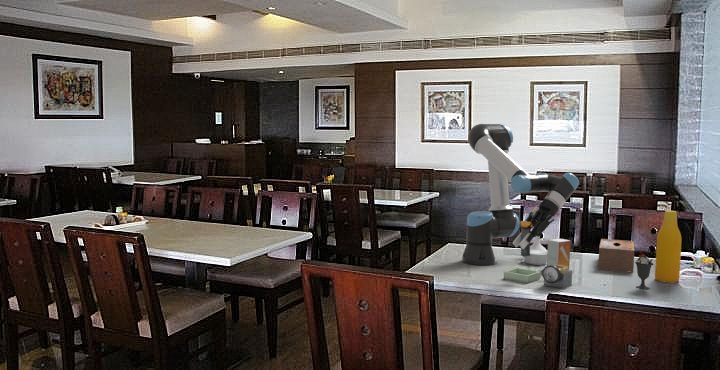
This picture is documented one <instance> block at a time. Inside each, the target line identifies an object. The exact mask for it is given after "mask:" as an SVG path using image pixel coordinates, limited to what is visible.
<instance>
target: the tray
mask: <svg viewBox="0 0 720 370" xmlns="http://www.w3.org/2000/svg"><path fill="white" fill-rule="evenodd" d="M541 278H542V271H539V270H532V269H526V268H521V267H514V268H512V269H507V270H505V271H503V279H504V280H507V279H508V281H514V282H519V283H524V284H530V283H533V282H535V281H539V280H541Z"/></svg>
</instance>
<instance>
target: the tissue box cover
mask: <svg viewBox="0 0 720 370" xmlns="http://www.w3.org/2000/svg"><path fill="white" fill-rule="evenodd" d="M597 264H598V266H597V269H598V270H602V271H603V270H604V271H613V270H614V271H615V272H623V271H631V272H630V273H634V264H635V241H634V240H625V239H624V240H622V239H621V240H620V239H609V238H608V239H607V238H601V239H600V243H599V248H598V263H597Z"/></svg>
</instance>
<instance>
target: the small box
mask: <svg viewBox="0 0 720 370" xmlns="http://www.w3.org/2000/svg"><path fill="white" fill-rule="evenodd" d="M571 243H572V242H571V240H569V239H566V238H565V239H564V238H552V239H548V240H547V263H546V266H549V265H561V266H567V267H569V268H570V260H571V259H570V258H571Z"/></svg>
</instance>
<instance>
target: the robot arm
mask: <svg viewBox="0 0 720 370" xmlns="http://www.w3.org/2000/svg"><path fill="white" fill-rule="evenodd" d="M467 140H468V144H469V147H471V149H472V150H473V151H474V152H475V153H476V154H478V155H482V156H483V157H484V158H485V159H486V160H487V164H488V165H487V166H488V181H489V192H490V193H489V194H490V196H489V197H490V207H489V208H488V210H477V211H476V210H475V211H472V212H470V213H468V215H467V217H466V245H465V248H464V251H463V253H462V256H461V261H462V263H464V264H467V263H468V264H467V265H473V264H474V266H490V265H494V264H495V263H496V256H495V253H494V249H493V247H492V246H493V244H492V243H493V239H499V238H506V239H507V238H509V237H513V236H515V235H516V233H517V232H518V231H520V232H519V233H518V235H516V237H515V239H514V240H513V241H512V244H513V246H515V248H518V247H519V246H520V249H521V248H522V249H524V248H525V247H526V246H527V244H528V243H529V242H530V243H531V241H533V239H535V237H536V236H537V237H539V236H540V237H541V235H542V234H543V233H544V232H545V230H546V229H547V228H548V227H549V226H550V225H551V224H552V223H553V222H554V221H555V219H554V217H555V216H556V214H557V213H558V212H559V210H561V208H562V207H563V206H564V204H565V203H566V201H567V200H568V199H569V198H570V197H571V196H572V195H573V193H574V192H575V191H576V189H577V188H578V187H579V185H580V180H579V179H578V177H577V176H576V175H574V174H573V173H571V172H565V173H564V174H562V175H561V176H557V175H553V174H549V173H546V172H537V173H536V174H529V173H528V172H527V171H526V170H524V169H523V168H522V167H521V166H520V165H519V164H518V163H517V162H515V160H514V159H512V158H511V157H510V156H509V155H508V153H509V152H510V151H509V150H510V149H509V148H510V147H512V145H513V142H514V135H513V131H512V130H511V129H510V127H508V126H507V125H506V124H501V123H479V124H476V125H474V126H472V127H471V129H470V130H469V132H468V135H467ZM509 182H510V187H511V189H512V190H513V191H514V192H515V193H516V194H528V193H529V194H530V193H543V192H544V193H545V192H546V193H547V195H546V196H545V197H544V199H543V200H542V201H541V202H540V204H539V205H538V209H536V211H535V213H532V211H531V212H529V214H528V216H527V217H526V218H525V220H524V221H532V227H531V231H529V232H530V233H531V234H530V233H528V234H527V235H526V236H525V237H524V239H523V240H522V241H521V231H522V227H521V226H520V219H519V216H518V214H516V213H515V212H514V208H513V207H512V206H511V205H510V195H509V194H510V193H509ZM532 228H533V229H532ZM538 232H539V233H538Z"/></svg>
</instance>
